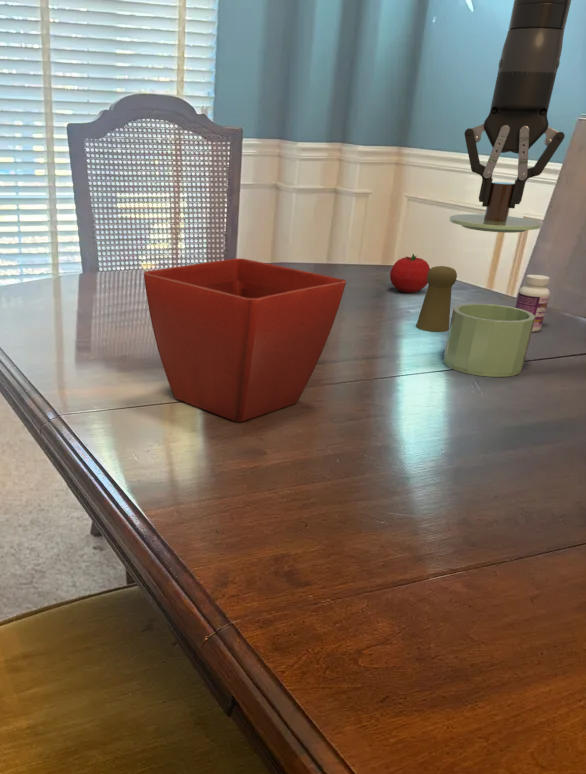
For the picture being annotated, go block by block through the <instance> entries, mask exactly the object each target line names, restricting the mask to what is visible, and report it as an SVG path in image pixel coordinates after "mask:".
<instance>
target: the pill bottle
mask: <svg viewBox="0 0 586 774" xmlns="http://www.w3.org/2000/svg"><path fill="white" fill-rule="evenodd" d="M550 280H551V278H550V277H549V276H547V275H541V274H527V275H526V278H525V285H523V286H521V288H520V289H519V291H518V294H517V298H516V303H515V307H514V308H519V309H523V310H526V311H528V312H531V313H532V314H533V315H534V316H535V321H534V325H533V329H532V333H536V332H537V333H538V332H539V331H541V329H542V326H543V323H544V318H545V315H546V311H547V307H548V303H549V300H550V295H551V294H550V293H551V292H550V290H549V288H547V287H549V284H550Z"/></svg>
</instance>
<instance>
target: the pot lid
mask: <svg viewBox="0 0 586 774" xmlns="http://www.w3.org/2000/svg"><path fill="white" fill-rule="evenodd" d="M514 183H515V182H514ZM514 183H513V182H503V181H492V185H491V189H490V194H489V199H488V204H487V207H485V212H484V214H479V213H478V214H475V213H472V214H471V213H470V214H469V213H468V214H466V213H465V214H454V215H450V216H449V219H448V220H449V223H452V224H455V225H459V226H461V227H462V228H465V229H467V230H474V231H481V232H489V233H507V234H508V233H511V234H512V233H515V234H516V233H523V232H524V233H525V232H526V231H532V230H533V231H534V230H539V229H542V226H543V223H542V222H541V221H538V220H535V219H531V218H530V219H529V218H525V217H518V216H509V213H510V208H509V207H510V203H511V198H512V194H513V189H514V185H515V184H514Z"/></svg>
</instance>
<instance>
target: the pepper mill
mask: <svg viewBox="0 0 586 774" xmlns="http://www.w3.org/2000/svg"><path fill="white" fill-rule="evenodd" d="M457 278H458V273H457V270H456V269H455V268H453V267H451V266H445V265H437V266H433V267H430V270H429V271H428V274H427V282H428V284H427V285H428V286H427V289H426V292H425V296H424V299H423V301H422V305H421V308H420V312H419V315H418V318H417V322H416V324H415V328H416V329H418V330H422V331H426V332H431V333H432V332H433V333H434V332H435V333H443V332H444V333H445V332H449V328H450V322H451V302H452V301H451V300H452V287H453V286H454V285H455V283H456V281H457Z"/></svg>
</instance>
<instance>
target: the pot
mask: <svg viewBox="0 0 586 774" xmlns="http://www.w3.org/2000/svg"><path fill="white" fill-rule="evenodd" d="M534 321H535V316H534V315H533V314H532V313H531V312H528V311H526V310H523V309H519V308H515V307H513V306H510V305H509V306H508V305H503V304H494V303H464V304H459V305H456V306H455V307H453V308H452V313H451V317H450V322H449V330H448V332H447V333H448V334H447V339H446V342H445V343H446V344H445V349H444V354H443V364H444V365H445V366H446V367H448V368H450V369H452V370H454V371H457V372H460V373H463V374H468V375H473V376H480V377H489V378H508V377H513V376H517V375H519V374H520V373H522V370H523V367H524V364H525V362H526V357H527V353H528V349H529V344H530V341H531V337H532V333H533V332H532V329H533V325H534Z"/></svg>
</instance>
